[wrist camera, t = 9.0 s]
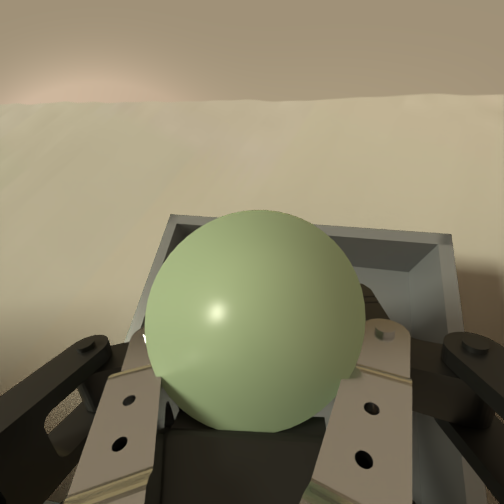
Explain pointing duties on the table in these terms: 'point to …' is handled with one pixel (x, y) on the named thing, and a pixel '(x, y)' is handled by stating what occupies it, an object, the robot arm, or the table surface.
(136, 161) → the table surface
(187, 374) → the pale green rounded knob
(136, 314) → the bin
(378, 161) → the table surface
